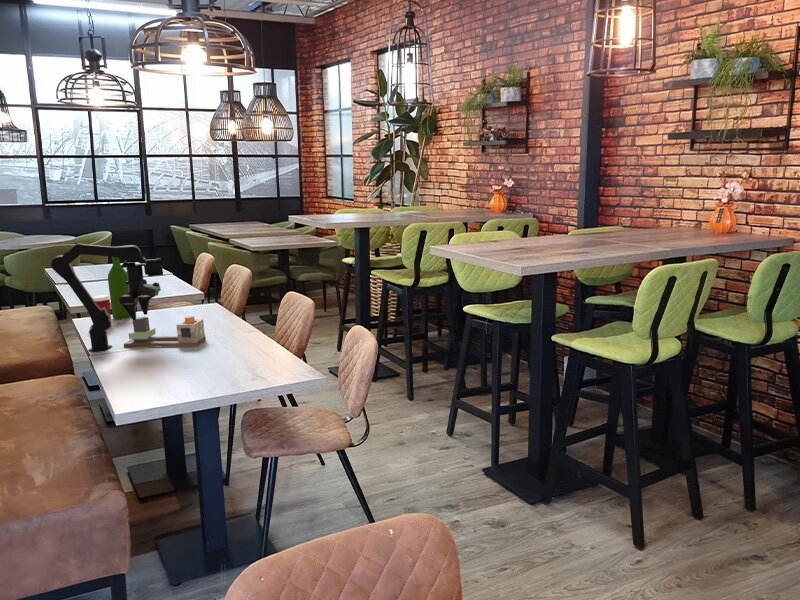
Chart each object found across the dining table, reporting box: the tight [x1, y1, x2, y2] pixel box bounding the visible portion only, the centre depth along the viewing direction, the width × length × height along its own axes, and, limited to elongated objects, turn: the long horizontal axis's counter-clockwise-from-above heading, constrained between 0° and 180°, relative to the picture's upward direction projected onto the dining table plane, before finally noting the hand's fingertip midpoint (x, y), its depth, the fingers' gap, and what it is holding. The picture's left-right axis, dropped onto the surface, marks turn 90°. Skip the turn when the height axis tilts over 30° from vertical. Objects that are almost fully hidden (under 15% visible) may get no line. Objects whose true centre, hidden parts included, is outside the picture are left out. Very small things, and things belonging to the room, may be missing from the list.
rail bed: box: [123, 318, 207, 348], centre depth 263 cm, size 10×29×8 cm, turn 84°
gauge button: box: [184, 315, 195, 324], centre depth 261 cm, size 4×4×5 cm
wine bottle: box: [107, 257, 131, 320], centre depth 312 cm, size 9×9×32 cm
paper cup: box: [91, 294, 112, 329], centre depth 294 cm, size 8×8×14 cm
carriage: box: [127, 316, 157, 340], centre depth 263 cm, size 8×7×7 cm
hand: (140, 317), depth 263 cm, fingers open, 9 cm apart
